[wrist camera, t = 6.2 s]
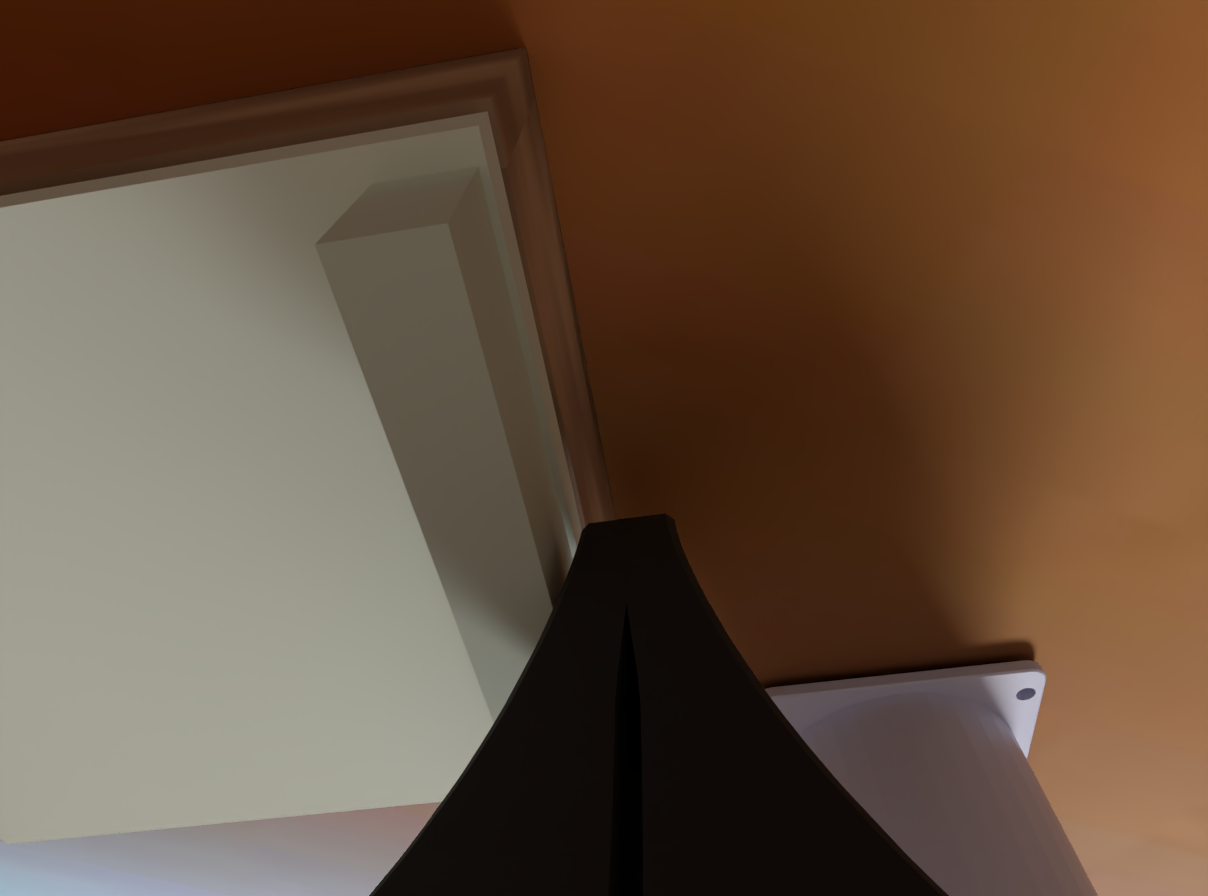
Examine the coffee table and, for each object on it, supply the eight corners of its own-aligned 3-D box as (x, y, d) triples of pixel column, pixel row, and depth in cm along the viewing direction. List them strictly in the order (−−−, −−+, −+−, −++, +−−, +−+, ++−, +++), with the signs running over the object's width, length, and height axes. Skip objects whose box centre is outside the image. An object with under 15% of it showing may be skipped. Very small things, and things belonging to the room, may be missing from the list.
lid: (630, 745, 15) (636, 892, 13) (30, 807, 16) (-66, 953, 14) (487, 111, 9) (447, 173, 6) (-493, 281, 10) (-837, 388, 7)
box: (625, 566, 20) (636, 843, 14) (113, 628, 21) (-84, 908, 15) (525, 47, 13) (463, 137, 7) (-214, 179, 14) (-807, 354, 8)
